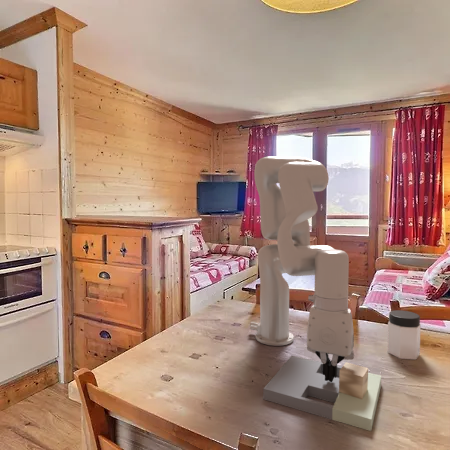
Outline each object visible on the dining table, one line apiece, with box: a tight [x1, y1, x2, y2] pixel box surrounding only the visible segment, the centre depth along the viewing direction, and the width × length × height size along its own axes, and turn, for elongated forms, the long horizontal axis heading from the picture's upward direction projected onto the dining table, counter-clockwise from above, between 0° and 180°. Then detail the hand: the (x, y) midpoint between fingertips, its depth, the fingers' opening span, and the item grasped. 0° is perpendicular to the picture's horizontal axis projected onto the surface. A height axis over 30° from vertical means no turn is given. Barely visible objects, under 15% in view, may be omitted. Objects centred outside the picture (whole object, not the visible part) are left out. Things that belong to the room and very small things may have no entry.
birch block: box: [338, 361, 369, 399], centre depth 78 cm, size 5×5×5 cm
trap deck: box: [262, 355, 382, 432], centre depth 82 cm, size 23×20×2 cm
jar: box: [387, 309, 422, 360], centre depth 103 cm, size 9×8×12 cm
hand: (329, 378), depth 82 cm, fingers closed
